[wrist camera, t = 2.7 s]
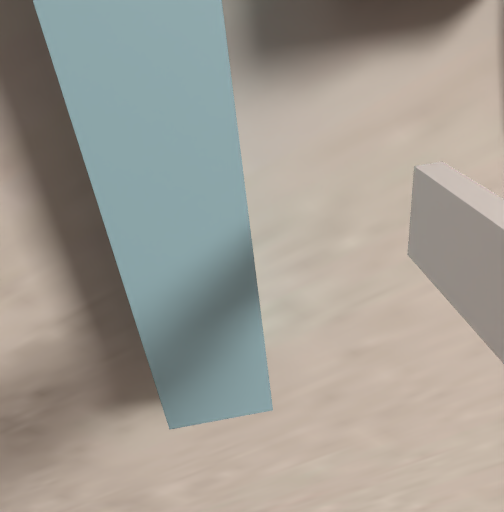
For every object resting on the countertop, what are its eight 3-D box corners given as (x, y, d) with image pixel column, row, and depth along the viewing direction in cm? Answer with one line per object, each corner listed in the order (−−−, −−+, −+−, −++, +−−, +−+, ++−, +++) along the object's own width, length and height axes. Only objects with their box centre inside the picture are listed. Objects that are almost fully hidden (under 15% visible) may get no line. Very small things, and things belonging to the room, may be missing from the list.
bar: (172, 356, 24) (169, 429, 20) (30, -158, 13) (-45, -242, 9) (257, 341, 25) (272, 410, 20) (188, -174, 14) (188, -262, 9)
